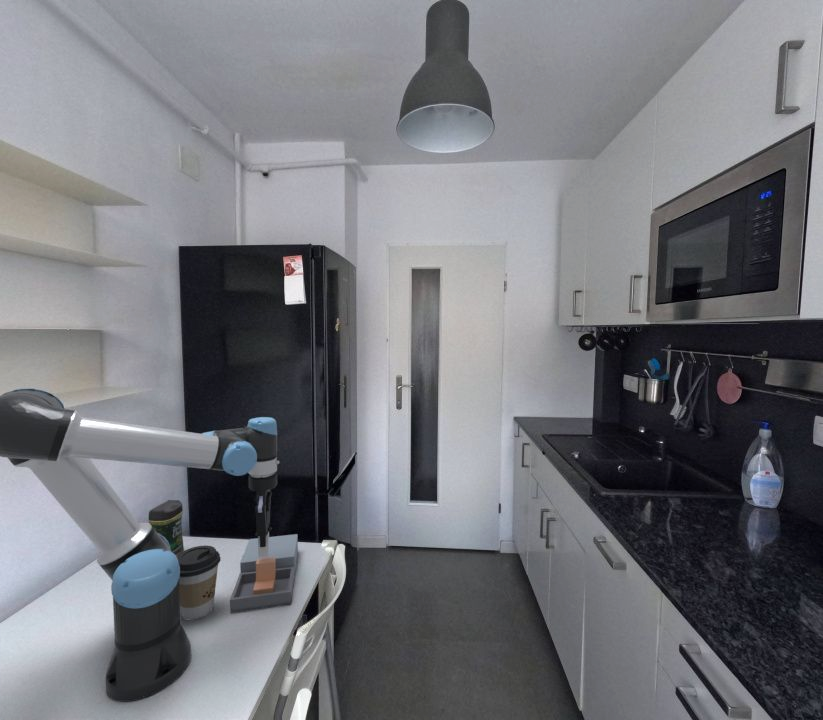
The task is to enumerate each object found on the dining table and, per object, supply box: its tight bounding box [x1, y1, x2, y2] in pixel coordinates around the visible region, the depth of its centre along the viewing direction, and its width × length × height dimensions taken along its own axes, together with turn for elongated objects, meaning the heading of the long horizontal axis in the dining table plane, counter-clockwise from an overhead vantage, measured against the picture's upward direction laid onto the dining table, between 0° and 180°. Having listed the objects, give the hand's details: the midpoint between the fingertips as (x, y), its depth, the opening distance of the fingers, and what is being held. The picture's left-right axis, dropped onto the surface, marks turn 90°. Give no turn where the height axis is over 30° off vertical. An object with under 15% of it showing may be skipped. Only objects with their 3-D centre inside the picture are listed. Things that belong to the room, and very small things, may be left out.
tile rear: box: [256, 557, 276, 582], centre depth 111 cm, size 5×5×2 cm
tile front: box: [253, 579, 275, 595], centre depth 108 cm, size 5×5×2 cm
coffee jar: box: [147, 499, 185, 557], centre depth 125 cm, size 10×8×19 cm
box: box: [229, 567, 295, 614], centre depth 108 cm, size 12×15×4 cm
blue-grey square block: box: [239, 533, 299, 577], centre depth 122 cm, size 14×15×6 cm
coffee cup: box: [177, 545, 222, 621], centre depth 102 cm, size 11×11×15 cm
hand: (263, 555), depth 111 cm, fingers closed
